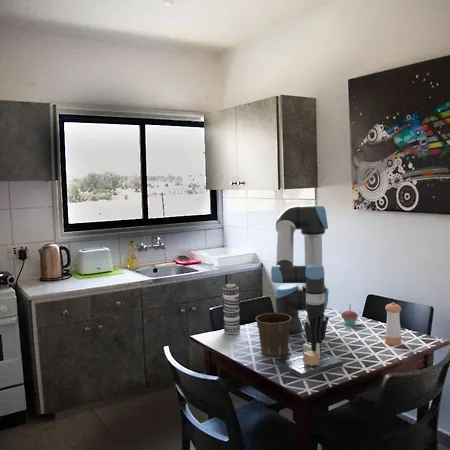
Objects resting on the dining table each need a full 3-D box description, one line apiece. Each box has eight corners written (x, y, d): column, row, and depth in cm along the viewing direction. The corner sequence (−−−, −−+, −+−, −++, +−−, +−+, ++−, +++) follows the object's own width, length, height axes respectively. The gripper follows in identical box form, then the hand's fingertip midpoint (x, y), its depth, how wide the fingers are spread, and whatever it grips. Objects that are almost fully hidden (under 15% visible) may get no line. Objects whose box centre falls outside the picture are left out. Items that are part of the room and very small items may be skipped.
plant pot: (249, 350, 224) (248, 316, 222) (278, 343, 231) (277, 310, 230) (269, 361, 210) (268, 325, 208) (299, 353, 217) (298, 318, 216)
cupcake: (359, 326, 252) (359, 304, 251) (343, 327, 252) (343, 304, 251) (355, 321, 261) (355, 299, 259) (339, 322, 261) (339, 300, 260)
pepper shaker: (382, 343, 227) (382, 303, 225) (389, 339, 232) (389, 299, 230) (397, 346, 222) (397, 305, 220) (404, 342, 227) (404, 302, 225)
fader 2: (303, 362, 201) (303, 352, 201) (310, 359, 203) (310, 350, 203) (311, 365, 197) (311, 355, 197) (318, 363, 199) (318, 353, 199)
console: (274, 363, 207) (274, 358, 207) (314, 352, 218) (313, 347, 218) (301, 378, 192) (301, 372, 191) (342, 365, 203) (342, 360, 203)
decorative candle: (237, 328, 256) (235, 282, 253) (243, 333, 247) (242, 285, 245) (220, 331, 253) (219, 284, 250) (227, 336, 244) (225, 287, 241)
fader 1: (303, 352, 212) (303, 343, 211) (310, 350, 214) (310, 341, 213) (310, 356, 207) (310, 346, 207) (317, 354, 209) (317, 344, 209)
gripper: (309, 307, 192) (310, 364, 195) (333, 301, 199) (334, 357, 202) (297, 303, 199) (298, 358, 201) (321, 298, 206) (321, 352, 208)
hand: (316, 358), depth 201 cm, fingers closed
